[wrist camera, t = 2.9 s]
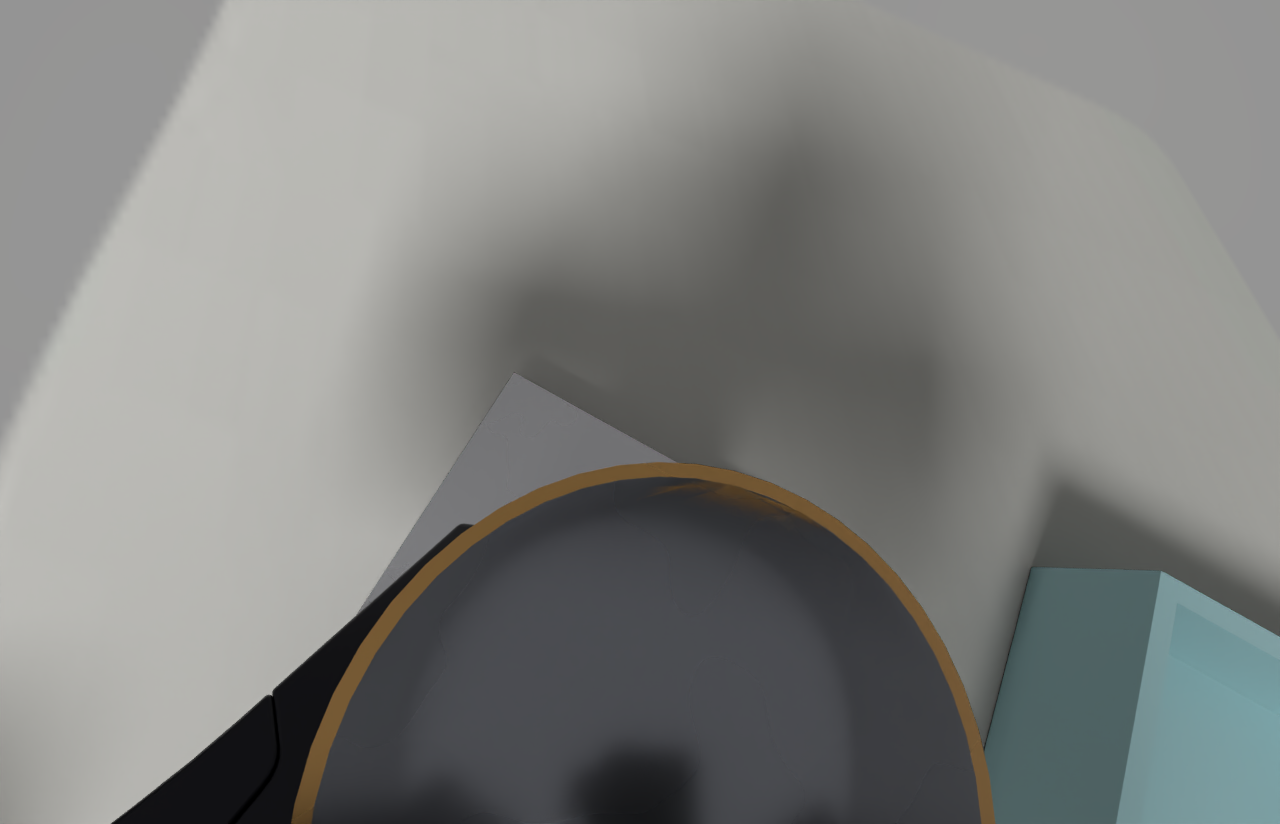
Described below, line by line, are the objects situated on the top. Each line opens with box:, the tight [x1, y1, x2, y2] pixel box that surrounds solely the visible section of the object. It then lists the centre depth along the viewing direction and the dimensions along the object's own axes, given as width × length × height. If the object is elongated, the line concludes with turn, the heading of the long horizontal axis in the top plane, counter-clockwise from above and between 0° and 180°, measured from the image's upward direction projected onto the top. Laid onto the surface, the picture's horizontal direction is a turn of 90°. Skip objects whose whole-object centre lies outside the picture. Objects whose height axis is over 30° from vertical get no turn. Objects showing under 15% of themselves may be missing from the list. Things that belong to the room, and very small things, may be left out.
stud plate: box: [357, 372, 677, 615], centre depth 14 cm, size 10×10×4 cm
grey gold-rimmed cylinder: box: [291, 462, 995, 824], centre depth 9 cm, size 4×4×12 cm
